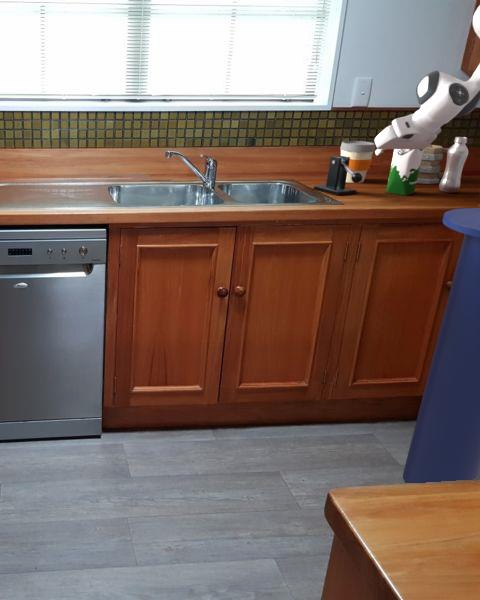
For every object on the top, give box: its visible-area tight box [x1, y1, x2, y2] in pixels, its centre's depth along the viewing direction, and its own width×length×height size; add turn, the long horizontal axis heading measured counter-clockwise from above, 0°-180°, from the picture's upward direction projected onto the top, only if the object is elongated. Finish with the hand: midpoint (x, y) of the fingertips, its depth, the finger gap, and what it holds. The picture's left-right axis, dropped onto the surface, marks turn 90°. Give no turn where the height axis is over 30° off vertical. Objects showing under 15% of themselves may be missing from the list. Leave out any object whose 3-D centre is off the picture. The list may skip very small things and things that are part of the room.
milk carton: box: [386, 148, 425, 197], centre depth 221 cm, size 9×9×20 cm
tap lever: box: [340, 157, 362, 184], centre depth 219 cm, size 13×4×4 cm, turn 24°
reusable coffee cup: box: [339, 140, 376, 184], centre depth 243 cm, size 13×13×15 cm
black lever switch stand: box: [313, 155, 358, 197], centre depth 224 cm, size 12×9×13 cm
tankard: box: [416, 144, 451, 185], centre depth 242 cm, size 20×13×15 cm, turn 67°
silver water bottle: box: [438, 136, 469, 194], centre depth 223 cm, size 6×7×20 cm
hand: (388, 153), depth 203 cm, fingers open, 8 cm apart
